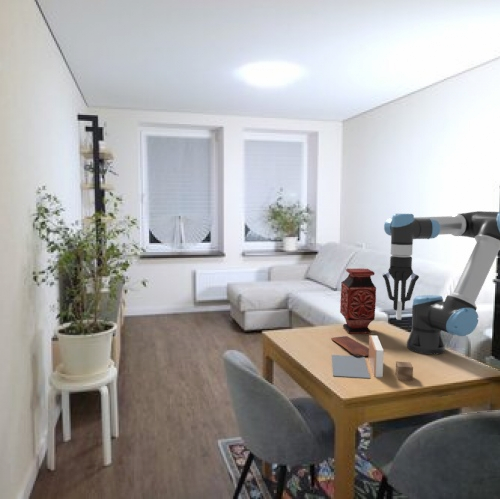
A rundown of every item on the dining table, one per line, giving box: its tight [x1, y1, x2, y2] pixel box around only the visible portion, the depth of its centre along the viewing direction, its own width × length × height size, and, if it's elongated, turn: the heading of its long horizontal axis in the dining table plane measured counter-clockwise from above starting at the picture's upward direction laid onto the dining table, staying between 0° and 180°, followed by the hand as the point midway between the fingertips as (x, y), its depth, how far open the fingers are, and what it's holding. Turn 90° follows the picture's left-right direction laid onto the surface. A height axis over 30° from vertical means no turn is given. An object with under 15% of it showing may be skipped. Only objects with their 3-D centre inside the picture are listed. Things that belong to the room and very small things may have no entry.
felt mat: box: [331, 354, 371, 379], centre depth 167 cm, size 13×22×1 cm, turn 171°
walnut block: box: [394, 361, 414, 382], centre depth 156 cm, size 5×5×5 cm
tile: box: [368, 334, 384, 378], centre depth 165 cm, size 3×18×10 cm, turn 171°
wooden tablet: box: [331, 335, 369, 357], centre depth 189 cm, size 27×10×2 cm, turn 12°
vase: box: [339, 268, 377, 335], centre depth 213 cm, size 14×14×30 cm
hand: (398, 318), depth 162 cm, fingers closed
